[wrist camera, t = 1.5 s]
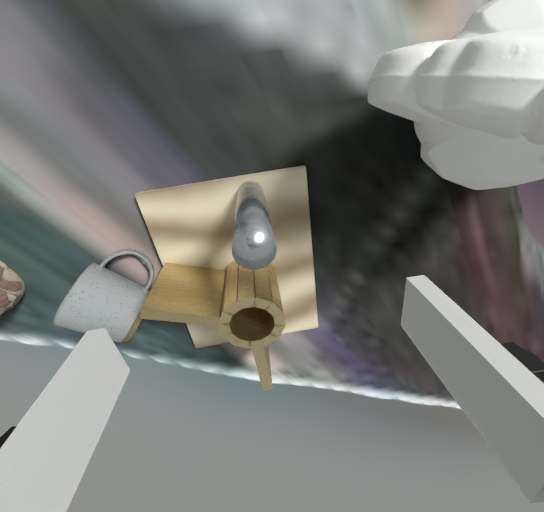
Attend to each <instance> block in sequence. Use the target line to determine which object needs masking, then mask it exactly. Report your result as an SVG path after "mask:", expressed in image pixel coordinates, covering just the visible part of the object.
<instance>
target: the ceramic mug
mask: <svg viewBox="0 0 544 512" xmlns="http://www.w3.org/2000/svg"><path fill="white" fill-rule="evenodd" d="M125 254H132V255H134V256H135V257H137V258H139V259H140V260H141V261H142V263H143V264H144V265H146V266H147V268H148V269H149V273H150V278H149V281H148V283H147V284H146V286H145V287H144V286H142V285H139V284H137V283H136V282H133V281H131V280H128V279H126V278H124V277H122V276H121V275H119V274H117V273H115V272H113V271H111V270H109V269H106V268H105V265H106V264H107V263H108V262H109V261H110V260H111V259H113V258H114V257H117V256H121V255H125ZM153 276H154V267H153V265H152V263H151V261H150V260H149V258H148V257H147V256H145V255H144V254H142V253H140V252H138V251H135V250H130V249H125V250H121V251H117V252H115V253H113V254H112V255H110V256H109V257H107V258H106V259H105V260H104V261H103V262H102V263H101V264H100V265H98V264H96V263H92V264H91V265H89V266H88V267H87V268H86V269H85V270H84V272H83V273H82V274H81V275H80V276H79V278H78V279H77V281H76V282H75V283H74V285H73V286H72V288H71V289H70V291H69V292H68V294H67V295H66V297H65V298H64V300H63V302H62V304H61V305H60V307H59V309H58V311H57V313H56V315H55V318H54V320H53V323H54V325H57V326H60V327H64V328H67V329H71V330H74V331H78V332H81V333H86V332H87V331H90V330H96V329H102V328H105V329H106V331H107V332H108V334H109V336H110V337H111V339H112V341H114V342H126V341H128V340H130V339H131V337H132V336H133V335H134V333H135V331H136V330H137V328H138V326H139V324H140V322H141V321H142V319H141V317H140V309H141V307H142V305H143V303H144V301H145V299H146V298H147V296H148V294H149V292H150V291H149V290H148V288H149V287H150V285H151V283H152V280H153Z"/></svg>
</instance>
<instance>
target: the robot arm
mask: <svg viewBox="0 0 544 512" xmlns="http://www.w3.org/2000/svg"><path fill="white" fill-rule="evenodd" d="M401 326H402V328H403V329H404V331H405V332H406V333H407V335H408V336H409V337H410V339H411V340H412V341H413V343H414V344H415V346H416V347H417V348H418V350H419V351H420V352H421V354H422V355H423V357H424V358H425V359H426V361H427V362H428V363H429V365H430V366H431V368H432V369H433V370H434V372H435V373H436V374H437V376H438V377H439V379H440V380H441V381H442V383H443V384H444V385H445V387H446V388H447V390H448V391H449V392H450V394H451V395H452V396H453V398H454V399H455V400H456V402H457V403H458V405H459V406H460V407H461V409H462V410H463V411H464V413H465V414H466V416H467V417H468V418H469V420H470V421H471V422H472V424H473V425H474V426H475V428H476V429H477V431H478V432H479V433H480V435H481V436H482V437H483V439H484V440H485V442H486V443H487V444H488V446H489V447H490V448H491V450H492V451H493V452H494V454H495V455H496V457H497V458H498V459H499V461H500V462H501V464H502V465H503V466H504V468H505V469H506V470H507V472H508V473H509V475H510V476H511V477H512V479H513V480H514V481H515V483H516V484H517V486H518V487H519V488H520V490H521V491H522V492H523V494H524V495H525V496H526V498H527V499H528V500H529V502H530V503H536V502H542V501H544V362H543V361H541V360H540V359H539V358H538V357H537V356H535V355H534V354H533V353H531V352H529V351H528V350H526V349H524V348H522V347H520V346H518V345H517V344H515V343H513V342H510V343H504V344H500V343H499V342H497V341H496V340H495V339H494V338H493V337H492V336H491V335H490V334H489V333H488V332H486V331H485V330H484V329H483V328H482V327H481V326H480V325H479V324H478V323H477V322H475V321H474V320H473V319H472V318H471V317H470V316H469V315H468V314H467V313H465V312H464V311H463V310H462V309H461V308H460V307H459V306H458V305H457V304H456V303H454V302H453V301H452V300H451V299H450V298H449V297H448V296H447V295H446V294H445V293H443V292H442V291H441V290H440V289H439V288H438V287H437V286H436V285H435V284H433V283H432V282H431V281H430V280H429V279H428V278H427V277H426V276H425V275H421V276H415V277H409V278H406V287H405V295H404V303H403V312H402V320H401ZM129 373H130V369H129V368H128V366H127V364H126V363H125V361H124V359H123V357H122V356H121V354H120V352H119V351H118V349H117V347H116V346H115V344H114V342H113V341H112V339H111V337H110V336H109V334H108V332H107V331H106V329H105V328H102V329H96V330H90V331H87V332H86V333H85V335H84V336H83V337H82V339H81V340H80V341H79V343H78V344H77V345H76V347H75V348H74V349H73V351H72V352H71V354H70V355H69V356H68V358H67V359H66V361H65V362H64V363H63V364H62V366H61V367H60V368H59V370H58V371H57V372H56V374H55V375H54V377H53V378H52V379H51V381H50V382H49V384H48V385H47V386H46V387H45V389H44V390H43V391H42V393H41V394H40V396H39V397H38V398H37V400H36V401H35V402H34V404H33V405H32V406H31V408H30V409H29V411H28V412H27V413H26V414H25V416H24V417H23V418H22V420H21V421H20V423H19V424H18V425H17V426H15V427H11V428H10V429H9V430H8V431H7V432H6V433H5V434H4V435H2V436H1V437H0V512H66V511H67V508H68V506H69V504H70V502H71V500H72V497H73V495H74V493H75V491H76V489H77V486H78V484H79V482H80V480H81V478H82V476H83V473H84V471H85V469H86V467H87V465H88V462H89V460H90V458H91V456H92V454H93V451H94V449H95V446H96V445H97V443H98V440H99V438H100V436H101V434H102V432H103V429H104V427H105V425H106V423H107V421H108V419H109V416H110V414H111V412H112V410H113V408H114V405H115V403H116V401H117V399H118V397H119V394H120V392H121V390H122V388H123V386H124V383H125V381H126V379H127V377H128V375H129Z"/></svg>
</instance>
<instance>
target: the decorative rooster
mask: <svg viewBox="0 0 544 512" xmlns="http://www.w3.org/2000/svg"><path fill="white" fill-rule="evenodd" d="M368 103H369V104H371V105H373V106H375V107H377V108H380V109H382V110H384V111H387V112H389V113H392V114H394V115H397V116H400V117H403V118H406V119H409V120H412V121H414V129H415V132H416V135H417V137H418V139H419V141H420V142H421V152H420V156H421V158H422V159H423V161H424V162H425V163H426V164H427V165H428V166H429V167H430V168H431V169H433V170H434V171H435V172H436V173H437V174H438V175H439V176H441V177H442V178H444V179H446V180H449V181H451V182H453V183H456V184H459V185H462V186H464V187H467V188H470V189H473V190H484V189H492V188H502V187H510V186H515V185H519V184H523V183H527V182H531V181H535V180H539V179H544V0H492V1H490V2H489V3H487V4H485V5H484V6H482V7H480V8H479V9H477V10H476V11H475V12H474V13H473V14H472V16H471V17H470V19H469V20H468V22H467V24H466V25H465V27H464V29H463V30H462V31H461V32H460V33H458V34H457V35H456V36H454V37H453V38H452V39H451V40H441V41H433V42H426V43H421V44H416V45H411V46H407V47H403V48H399V49H396V50H392V51H390V52H387V53H385V54H384V55H383V56H382V57H381V58H380V59H379V61H378V63H377V65H376V67H375V69H374V72H373V74H372V76H371V78H370V80H369V83H368Z"/></svg>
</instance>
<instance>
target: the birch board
mask: <svg viewBox="0 0 544 512" xmlns="http://www.w3.org/2000/svg"><path fill="white" fill-rule="evenodd" d="M246 181H255V182H257V183H259V184H260V185H261V186H262V188H263V190H264V195H265V199H266V203H267V208H268V212H269V217H270V221H271V225H272V230H273V234H274V238H275V243H276V247H277V252H276V256H275V258H274V260H273V261H272V263H271V264H272V265H273V266H274V267H275V270H276V275H277V281H278V286H279V291H280V297H281V302H282V307H283V312H284V319H285V328H284V330H283V332H282V333H281V334H283V333H288V332H294V331H300V330H306V329H312V328H318V318H317V304H316V291H315V278H314V265H313V252H312V239H311V226H310V213H309V200H308V186H307V173H306V166H305V165H303V166H297V167H290V168H284V169H278V170H272V171H266V172H260V173H254V174H248V175H242V176H236V177H230V178H223V179H217V180H211V181H205V182H199V183H193V184H187V185H181V186H175V187H169V188H162V189H156V190H150V191H144V192H138V193H137V194H135V197H136V200H137V202H138V205H139V207H140V210H141V212H142V215H143V217H144V220H145V222H146V225H147V227H148V230H149V232H150V235H151V237H152V240H153V242H154V245H155V247H156V250H157V252H158V255H159V257H160V260H161V262H162V265H163V266H164V264H165V262H167V263H174V264H182V265H190V266H197V267H205V268H213V269H220V270H226V269H227V266H228V265H229V264H230V263H231V262H232V261H234V258H233V255H232V243H233V233H234V223H235V213H236V203H237V193H238V189H239V187H240V185H241V184H243V183H244V182H246ZM225 272H226V271H225ZM186 325H187V327H188V330H189V332H190V335H191V337H192V340H193V342H194V345H195V347H196V348H200V347H206V346H212V345H218V344H224V343H229V342H228V341H227V340H225V339H224V338H223V337H222V336H221V333H220V330H219V327H218V326H212V325H202V324H191V323H186Z"/></svg>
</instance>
